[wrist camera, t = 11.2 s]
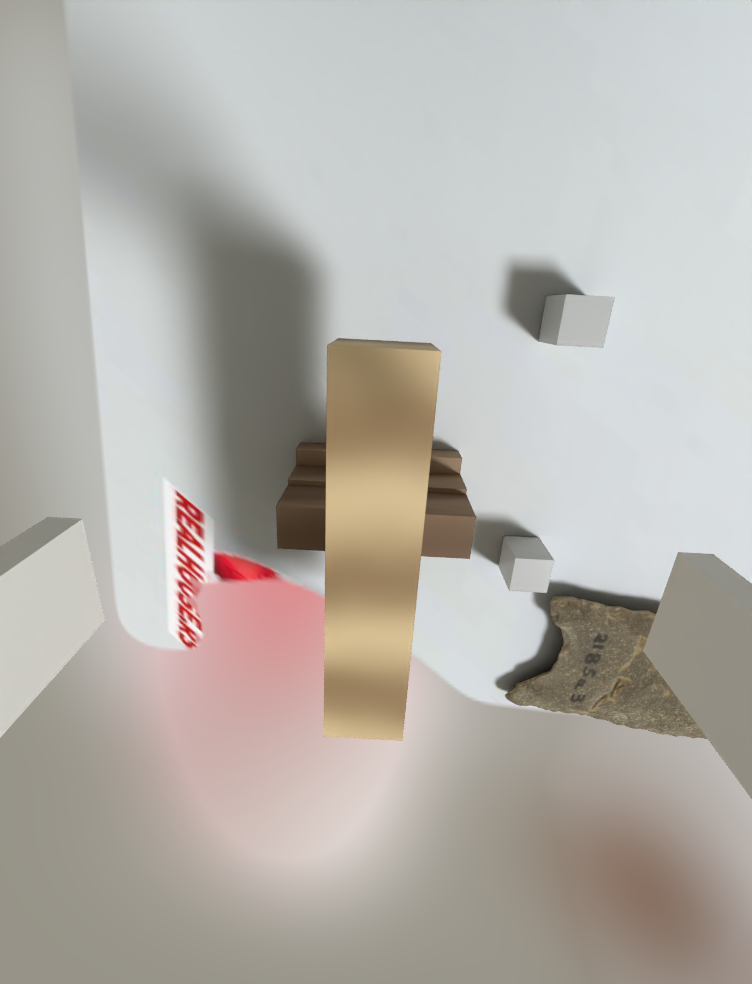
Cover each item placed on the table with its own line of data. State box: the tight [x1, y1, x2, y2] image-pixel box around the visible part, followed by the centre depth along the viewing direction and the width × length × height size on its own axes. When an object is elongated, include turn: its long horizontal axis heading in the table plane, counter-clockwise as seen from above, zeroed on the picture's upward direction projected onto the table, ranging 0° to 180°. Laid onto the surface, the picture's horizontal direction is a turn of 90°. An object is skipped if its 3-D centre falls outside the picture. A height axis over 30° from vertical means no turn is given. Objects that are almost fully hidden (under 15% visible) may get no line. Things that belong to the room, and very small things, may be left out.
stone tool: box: [505, 596, 707, 739], centre depth 34 cm, size 11×3×25 cm
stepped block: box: [276, 443, 476, 559], centre depth 26 cm, size 5×10×7 cm, turn 87°
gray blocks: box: [499, 294, 615, 593], centre depth 27 cm, size 17×2×3 cm, turn 177°
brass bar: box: [324, 338, 441, 741], centre depth 21 cm, size 19×4×4 cm, turn 177°
